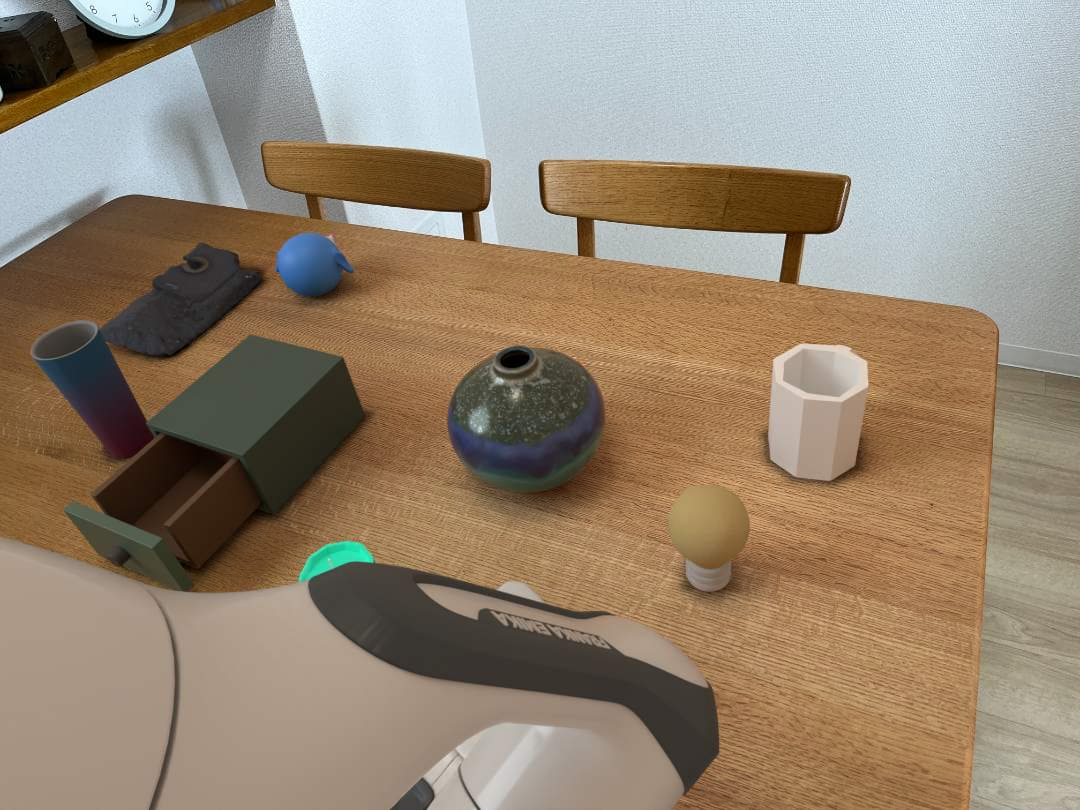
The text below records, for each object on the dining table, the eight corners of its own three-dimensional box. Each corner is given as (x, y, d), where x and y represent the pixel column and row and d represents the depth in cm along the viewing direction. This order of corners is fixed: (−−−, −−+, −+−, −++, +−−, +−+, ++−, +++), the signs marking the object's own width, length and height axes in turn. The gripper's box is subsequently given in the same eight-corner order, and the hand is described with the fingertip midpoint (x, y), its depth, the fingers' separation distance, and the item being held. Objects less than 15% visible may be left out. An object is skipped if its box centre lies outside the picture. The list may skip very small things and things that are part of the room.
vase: (434, 500, 80) (401, 400, 71) (496, 400, 90) (474, 301, 81) (580, 532, 74) (564, 428, 66) (629, 421, 85) (620, 318, 76)
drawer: (175, 604, 73) (141, 558, 69) (88, 564, 79) (51, 518, 74) (288, 485, 83) (264, 437, 79) (203, 456, 88) (177, 410, 84)
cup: (111, 428, 96) (43, 326, 86) (167, 418, 96) (106, 315, 86) (93, 468, 91) (19, 365, 81) (153, 458, 91) (86, 353, 81)
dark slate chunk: (86, 348, 110) (68, 320, 107) (194, 262, 125) (180, 235, 122) (169, 364, 104) (153, 335, 101) (272, 272, 119) (260, 244, 116)
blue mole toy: (379, 261, 117) (363, 208, 112) (347, 308, 109) (328, 254, 103) (306, 260, 120) (286, 209, 115) (269, 307, 112) (246, 254, 106)
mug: (839, 493, 74) (852, 413, 67) (751, 461, 78) (754, 384, 72) (883, 414, 80) (899, 335, 74) (800, 388, 85) (807, 312, 78)
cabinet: (274, 515, 81) (242, 455, 76) (181, 481, 87) (145, 423, 82) (365, 416, 91) (343, 356, 86) (276, 391, 97) (250, 334, 91)
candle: (372, 606, 71) (330, 517, 64) (422, 636, 68) (384, 547, 61) (323, 658, 68) (273, 572, 60) (373, 692, 65) (327, 606, 57)
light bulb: (739, 616, 66) (743, 538, 59) (662, 599, 68) (657, 522, 61) (752, 555, 70) (757, 476, 63) (679, 541, 72) (677, 463, 66)
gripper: (603, 629, 55) (477, 525, 63) (352, 861, 46) (243, 703, 54) (610, 678, 59) (491, 574, 67) (381, 899, 50) (276, 747, 58)
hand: (378, 633), depth 61 cm, fingers open, 8 cm apart
